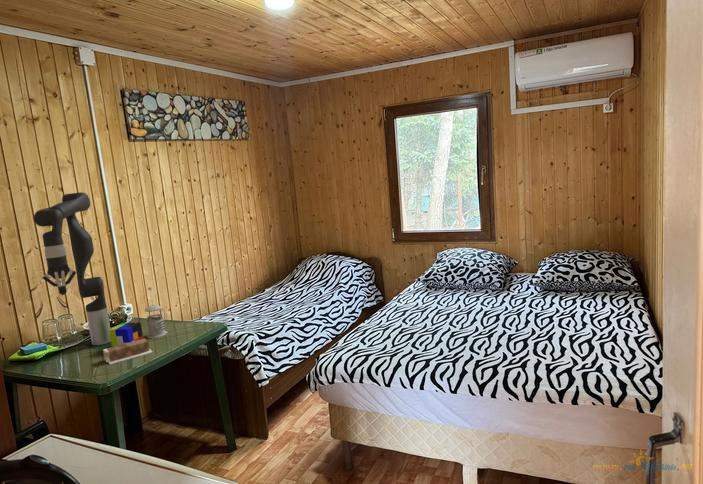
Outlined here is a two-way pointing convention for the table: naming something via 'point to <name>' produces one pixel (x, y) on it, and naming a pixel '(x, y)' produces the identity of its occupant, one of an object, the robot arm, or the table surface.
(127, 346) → the walnut block
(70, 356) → the table surface
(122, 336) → the puzzle toy
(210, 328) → the table surface
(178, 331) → the table surface
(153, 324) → the french press
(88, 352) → the table surface
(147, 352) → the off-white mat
